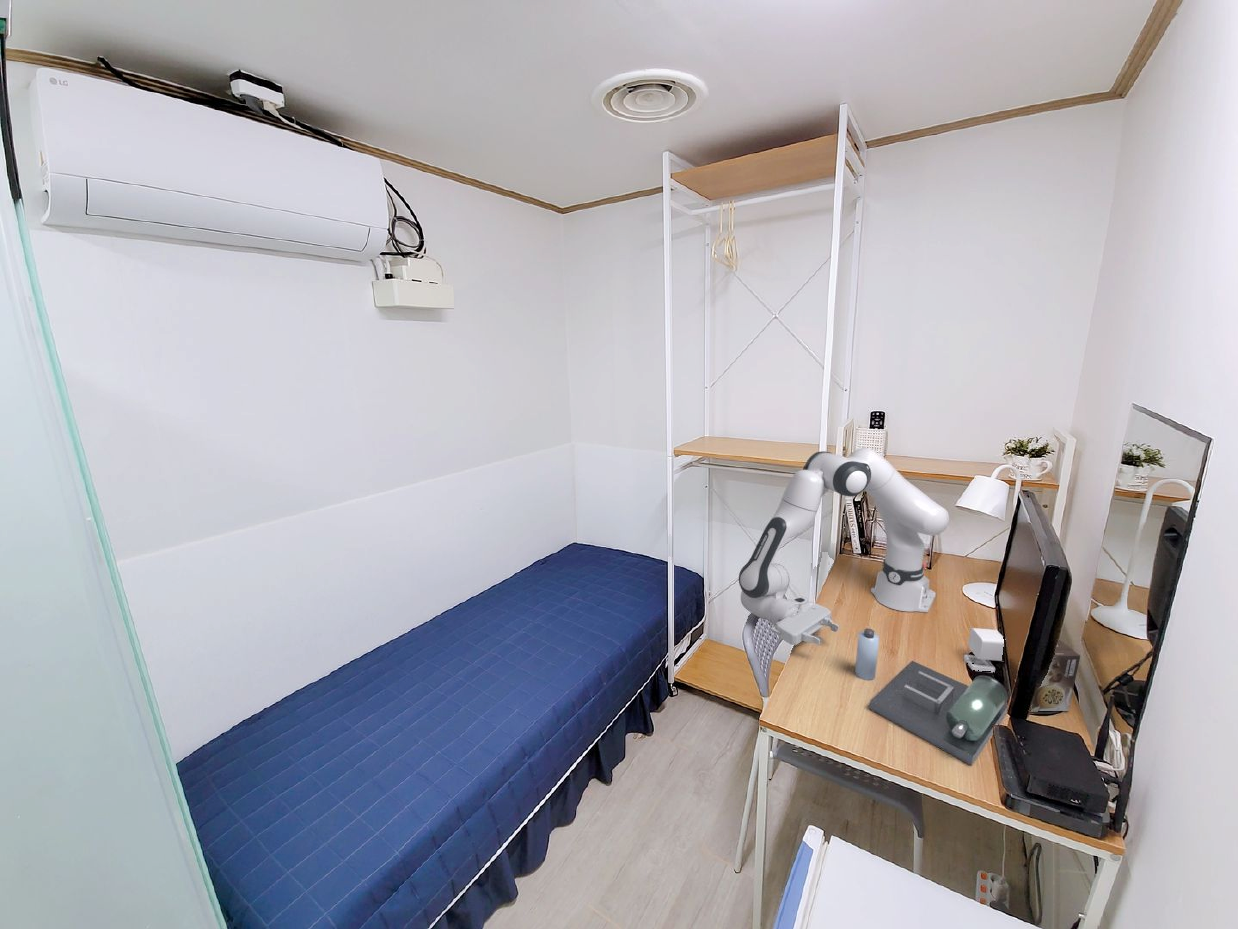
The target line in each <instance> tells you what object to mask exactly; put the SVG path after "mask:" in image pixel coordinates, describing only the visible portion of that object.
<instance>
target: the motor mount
mask: <svg viewBox="0 0 1238 929" xmlns="http://www.w3.org/2000/svg"><path fill="white" fill-rule="evenodd" d="M1008 698H1009V694H1008V691H1007V689H1006V687H1005V686H1004V685H1003V683H1001V682H1000V681H999V680H997V679H996V678H994V677H992V676H989V675H978V676H976V677H975V678H974V679H973V680H972V681H971V682H970V684H969V685H967V684H966V683H963V682H961V681H958V680H956V679H953V678H952V677H949V676H947V675H945V674H942V673H941V672H938V671H936V670H934V669H931V668H929V667H928V666H925V665H923V664H920V663H919V662H916V661H914V660H911V661H910V662H909V663H908V664H907V665H905V667H903V669H902V670H900V671H899V672H898V673H897V674H896V675H895V677H893V678H892V679H891V680H890V681H889V682H888V683H887V684H886V685H885V686H884V687H883V688H882V689H881V690H880V691H879V692H878V693H876V694H875V695H874V696H873V698H871V699H870V700H869V709H868V710H870V711H873V713H876V714H878V715H879V716H881V717H883V718H885V719H886V720H888V721H890V722H892V723H894V724H895V725H897V726H899V727H900V728H902V729H904V730H906V731H908V732H910V733H911V734H914V735H915V736H917V737H919V738H921V739H922V740H923V741H926V742H928V743H929V744H931V745H933V746H934V747H936V748H939V749H940V748H941V750H942V749H943V750H942V751H944V752H945V753H947V754H949V755H951V756H952V757H954V758H956V759H958V760H959V761H961V760H962V762H963V761H964V762H963V763H965V764H966V765H969V766H970V767H972V766H973V764H974V763H975V761H976V759H978V757H979V756H980V754H981V753H982V751H983V749H984V748H985V747H986V745H987V744H988V742H989V741H990V739H991V738H990V737H992V736H993V735H994V733H993V726H994V725H996V724H999V725H1001V723H1002V721H1003V719H1004V718H1005V717H1006V715H1007V714H1006V711H1007V704H1008V703H1007V701H1008ZM1007 712H1008V711H1007ZM1000 722H1001V723H1000ZM992 734H993V735H992Z"/></svg>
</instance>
